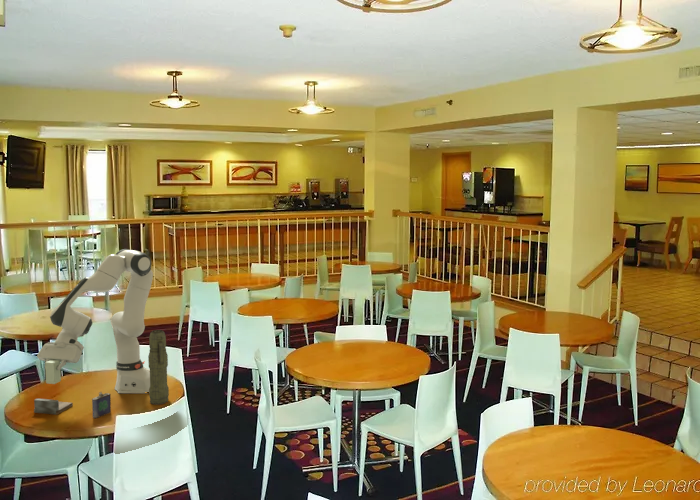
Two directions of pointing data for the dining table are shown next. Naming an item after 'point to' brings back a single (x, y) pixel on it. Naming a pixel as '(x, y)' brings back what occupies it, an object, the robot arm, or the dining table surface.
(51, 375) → the cabinet block
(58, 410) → the display stand
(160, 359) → the stone statue
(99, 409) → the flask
